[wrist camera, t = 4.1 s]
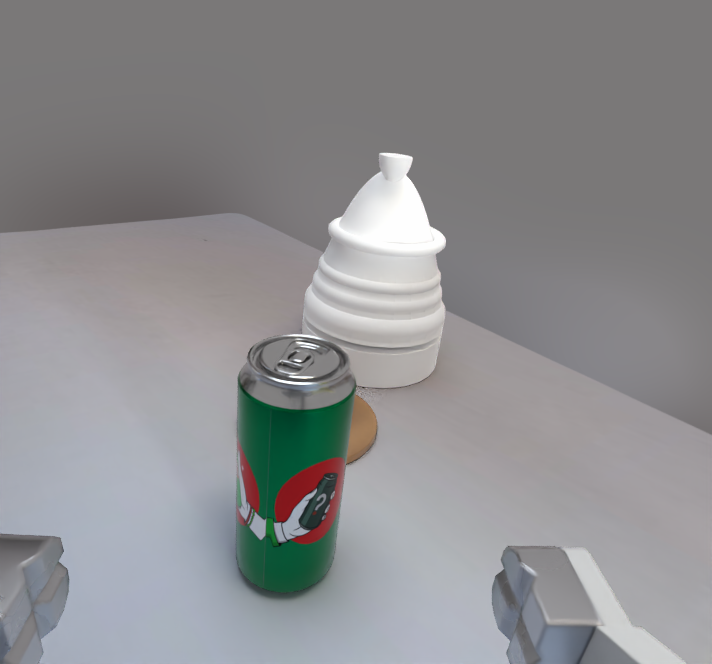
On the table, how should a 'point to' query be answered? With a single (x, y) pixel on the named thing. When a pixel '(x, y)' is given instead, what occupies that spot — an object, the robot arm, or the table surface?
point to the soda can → (291, 459)
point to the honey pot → (381, 282)
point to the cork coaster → (361, 430)
